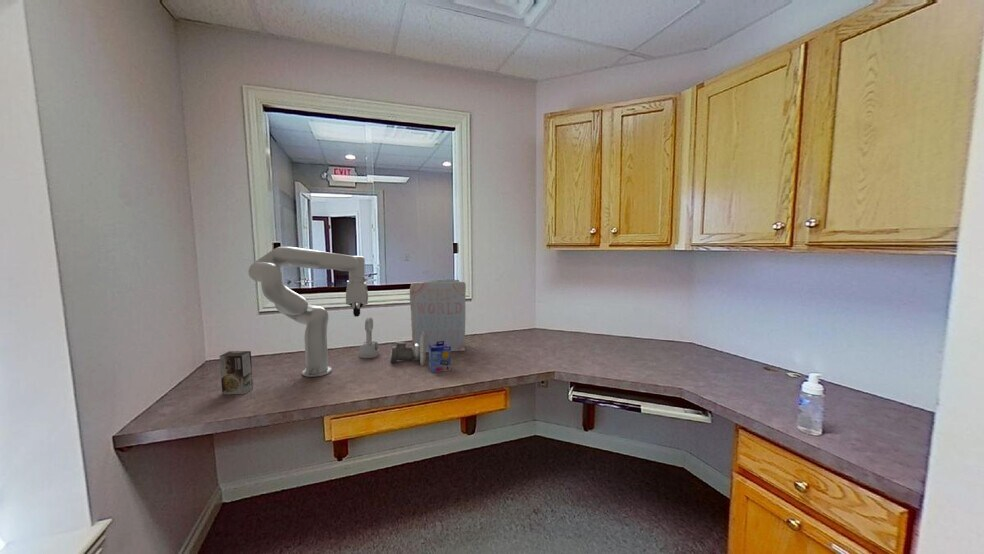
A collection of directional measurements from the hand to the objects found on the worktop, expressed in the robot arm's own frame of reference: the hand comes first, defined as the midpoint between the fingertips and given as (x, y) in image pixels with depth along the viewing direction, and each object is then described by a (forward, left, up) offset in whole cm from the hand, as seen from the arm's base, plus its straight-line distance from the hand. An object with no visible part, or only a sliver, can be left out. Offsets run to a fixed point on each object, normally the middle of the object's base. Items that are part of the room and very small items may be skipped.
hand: (356, 316), depth 197 cm
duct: (-2, -32, -23) cm, 39 cm away
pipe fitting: (-2, -23, -24) cm, 33 cm away
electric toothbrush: (+10, -4, -24) cm, 26 cm away
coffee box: (-38, +38, -24) cm, 59 cm away
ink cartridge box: (-17, -43, -24) cm, 51 cm away
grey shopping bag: (+22, -40, -24) cm, 51 cm away
